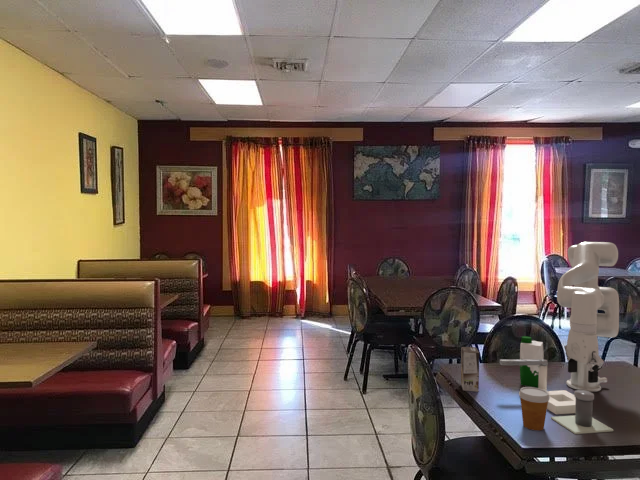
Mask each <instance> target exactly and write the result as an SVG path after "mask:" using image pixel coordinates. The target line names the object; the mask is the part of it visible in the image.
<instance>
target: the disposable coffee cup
mask: <svg viewBox="0 0 640 480" xmlns="http://www.w3.org/2000/svg"><path fill="white" fill-rule="evenodd" d="M519 389H520V390H519V392H518V395H519V397H520V407H521V416H522V417H521V418H522V425H523V427H524V428H526V429H528V430H531V431H539V432H540V431H542V430H544V429H545V422H546V416H547V410H548V409H547V405H548V401H549V399H550V397H549V395H548V392H547V391H548V390H547V391H545V390H543V389H539V388H536V387H530V386H525V387H524V386H523V387H521V388H519Z"/></svg>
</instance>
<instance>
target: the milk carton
mask: <svg viewBox="0 0 640 480" xmlns="http://www.w3.org/2000/svg"><path fill="white" fill-rule="evenodd" d="M532 338H533V337H531V336H528V335H522V336H521V338H520V339H521V341H520V345H519V346H520V349H519V350H520V351H519V360H539V359H544V354H545V353H544V342H543V341H537V340H533V339H532ZM544 360H545V359H544ZM519 378H520V379H519V381H520V386H523V387H524V386H525V387H534V388H538V382H539V365H519Z"/></svg>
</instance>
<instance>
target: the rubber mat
mask: <svg viewBox="0 0 640 480" xmlns="http://www.w3.org/2000/svg"><path fill="white" fill-rule="evenodd" d="M550 418H551V420H553V421H554V422H556V423H557V424H559V425H561V426H562V427H563V428H565V429H567V430H568V431H569V432H571V433H573V434H574V435H581V434H594V433H607V432H609V433H610V432H614V429H613V428H612V427H610V426H608V425H606V424H605V423H603V422H601V421H599V420H598V419H596V418H594V417H592V426H591V427H583V426H580V425H577V424H576V423H575V414H574V415H573V414H572V415H559V416H551V417H550Z"/></svg>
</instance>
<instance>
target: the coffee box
mask: <svg viewBox="0 0 640 480" xmlns="http://www.w3.org/2000/svg"><path fill="white" fill-rule="evenodd" d="M460 350H461V351H460V356H461V358H460V359H461V360H460V370H461V371H460V385H461V388H462V391H467V392H480V390H479V389H480V388H479V385H480V382H479V381H480V352H479V350H478V348H477V347H475V346H461V348H460Z"/></svg>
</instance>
